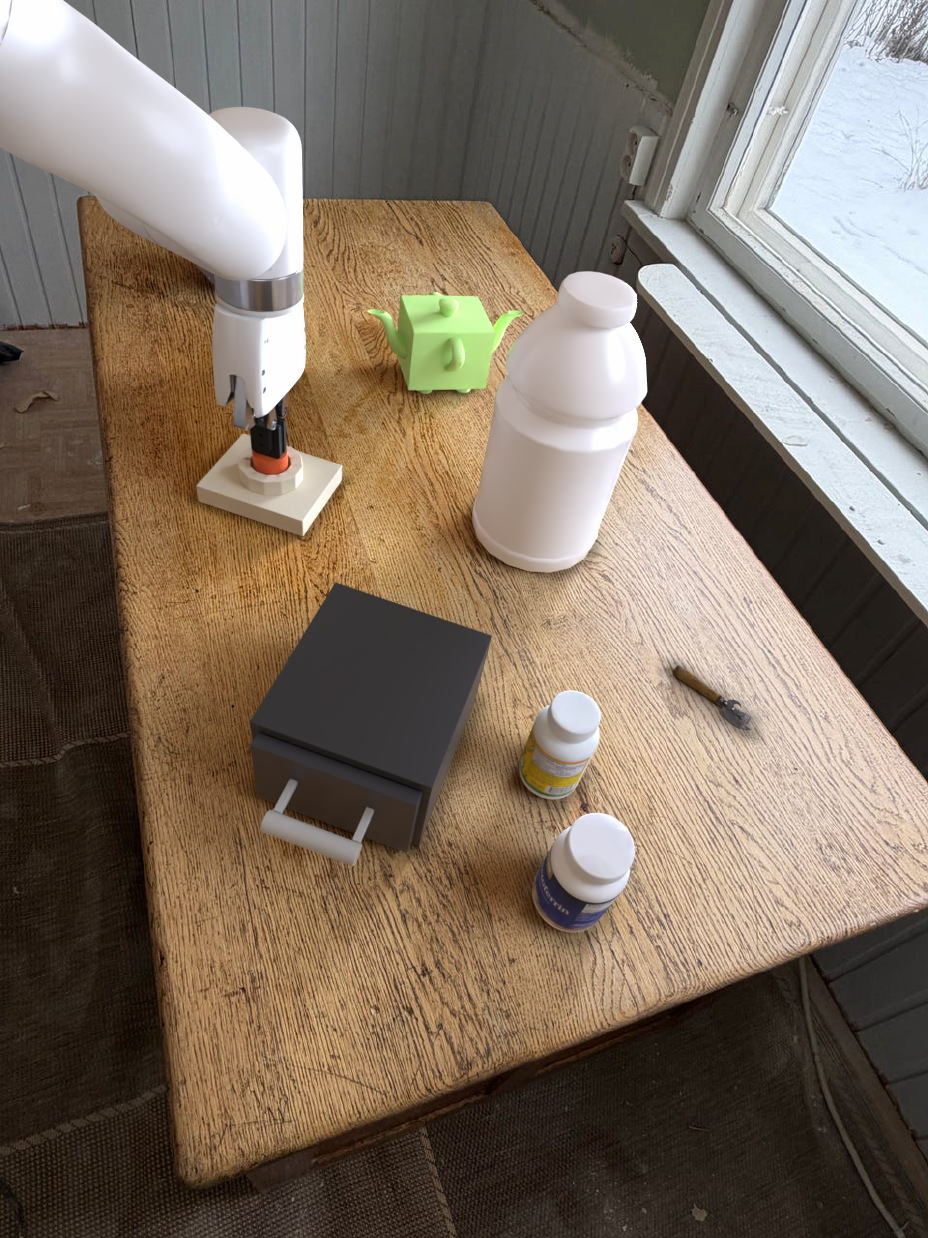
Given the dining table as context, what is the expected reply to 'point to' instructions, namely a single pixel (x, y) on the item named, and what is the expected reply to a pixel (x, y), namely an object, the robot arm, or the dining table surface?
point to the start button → (270, 463)
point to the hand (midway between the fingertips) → (269, 450)
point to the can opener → (713, 697)
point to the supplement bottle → (560, 745)
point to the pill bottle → (583, 872)
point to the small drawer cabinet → (379, 691)
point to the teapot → (444, 341)
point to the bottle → (561, 426)
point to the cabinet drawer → (330, 800)
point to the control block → (270, 487)
